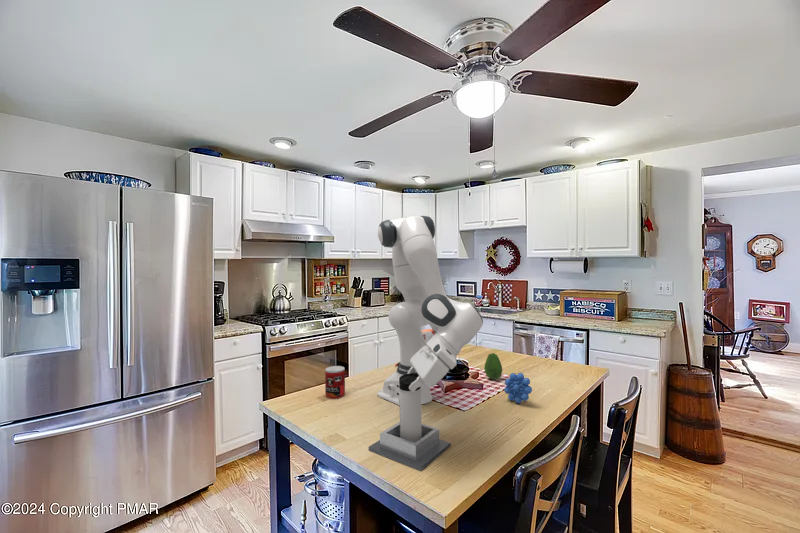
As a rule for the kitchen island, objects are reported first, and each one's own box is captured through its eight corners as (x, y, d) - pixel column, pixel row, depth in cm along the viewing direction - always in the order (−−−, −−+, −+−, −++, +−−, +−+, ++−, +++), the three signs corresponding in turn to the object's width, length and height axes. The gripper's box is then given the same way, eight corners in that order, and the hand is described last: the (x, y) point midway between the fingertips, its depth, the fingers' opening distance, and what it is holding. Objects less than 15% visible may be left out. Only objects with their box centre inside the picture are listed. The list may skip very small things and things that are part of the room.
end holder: (368, 450, 106) (368, 433, 106) (401, 429, 119) (401, 414, 119) (420, 471, 95) (420, 451, 95) (450, 446, 108) (450, 429, 108)
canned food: (321, 397, 148) (321, 370, 148) (332, 391, 155) (332, 365, 155) (338, 400, 145) (337, 372, 145) (348, 393, 152) (348, 366, 152)
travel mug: (425, 440, 109) (424, 373, 109) (416, 451, 103) (415, 380, 103) (406, 436, 112) (404, 371, 111) (396, 446, 106) (395, 378, 105)
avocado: (490, 375, 175) (490, 350, 175) (505, 379, 169) (505, 353, 169) (480, 379, 170) (480, 353, 170) (495, 383, 164) (495, 356, 164)
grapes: (537, 404, 139) (537, 373, 139) (528, 409, 135) (528, 377, 135) (510, 396, 148) (510, 366, 148) (500, 400, 144) (500, 369, 144)
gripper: (425, 335, 118) (395, 367, 117) (442, 351, 98) (405, 389, 97) (438, 349, 119) (409, 381, 117) (458, 367, 99) (422, 405, 97)
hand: (407, 385), depth 107 cm, fingers closed on travel mug, 6 cm apart
